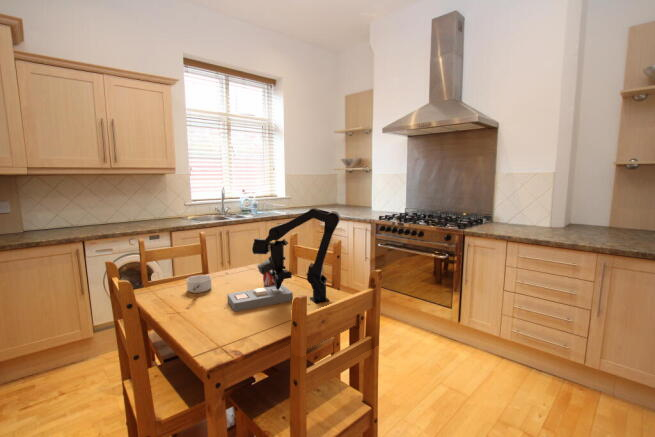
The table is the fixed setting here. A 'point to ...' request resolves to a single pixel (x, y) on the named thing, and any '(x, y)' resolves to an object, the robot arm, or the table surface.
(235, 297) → the terracotta key
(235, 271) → the table surface
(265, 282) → the soda can
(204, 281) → the light grey oval block
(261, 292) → the cream key
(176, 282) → the table surface
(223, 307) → the table surface
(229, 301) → the keypad
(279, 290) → the bluegrey key
